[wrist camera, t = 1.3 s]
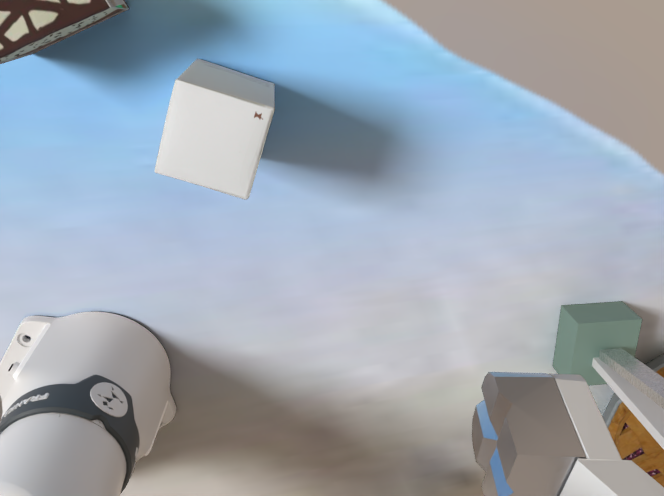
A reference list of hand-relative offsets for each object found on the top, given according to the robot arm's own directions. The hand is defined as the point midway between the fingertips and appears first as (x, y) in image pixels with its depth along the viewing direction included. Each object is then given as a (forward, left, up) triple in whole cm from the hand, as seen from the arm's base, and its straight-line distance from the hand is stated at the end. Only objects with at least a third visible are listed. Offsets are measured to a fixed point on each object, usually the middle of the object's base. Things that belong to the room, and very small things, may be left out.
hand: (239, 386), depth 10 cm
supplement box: (-5, 0, -48) cm, 48 cm away
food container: (-7, +16, -48) cm, 51 cm away
